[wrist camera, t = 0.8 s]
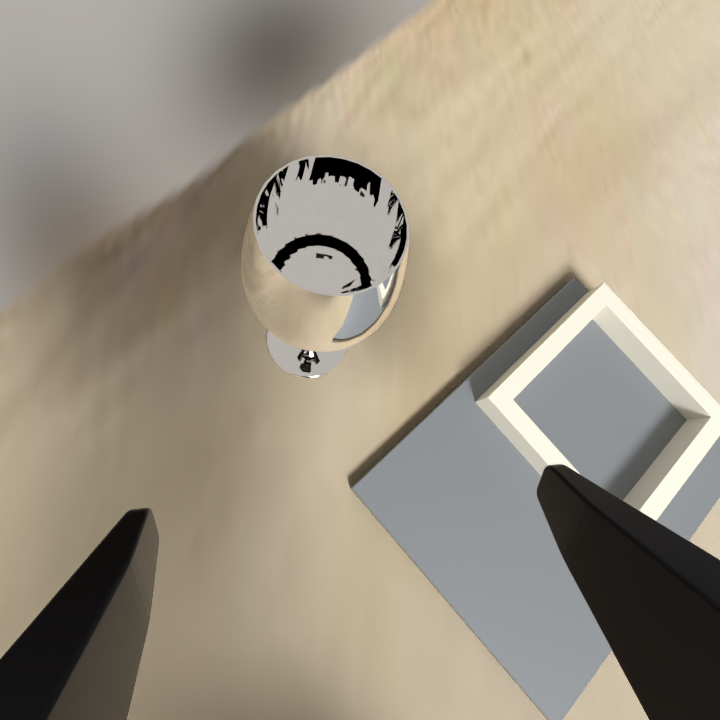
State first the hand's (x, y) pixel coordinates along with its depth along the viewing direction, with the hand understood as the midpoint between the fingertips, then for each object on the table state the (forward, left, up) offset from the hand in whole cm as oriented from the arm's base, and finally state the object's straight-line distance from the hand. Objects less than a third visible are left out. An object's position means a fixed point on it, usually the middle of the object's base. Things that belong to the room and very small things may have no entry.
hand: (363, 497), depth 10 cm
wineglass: (+6, -5, -13) cm, 16 cm away
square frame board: (-9, -11, -13) cm, 19 cm away
